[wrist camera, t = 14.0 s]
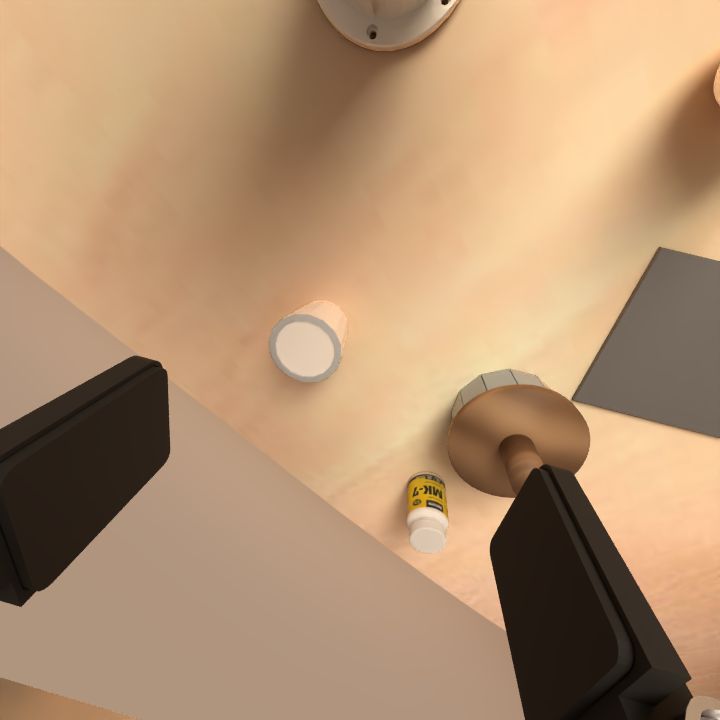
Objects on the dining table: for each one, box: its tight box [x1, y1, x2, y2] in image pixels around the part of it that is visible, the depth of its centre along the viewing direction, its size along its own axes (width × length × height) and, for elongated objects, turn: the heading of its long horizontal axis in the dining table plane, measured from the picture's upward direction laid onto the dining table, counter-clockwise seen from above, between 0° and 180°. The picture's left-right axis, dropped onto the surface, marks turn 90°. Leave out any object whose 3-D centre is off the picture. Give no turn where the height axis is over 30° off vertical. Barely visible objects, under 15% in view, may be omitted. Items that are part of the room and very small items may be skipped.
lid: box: [447, 384, 590, 498], centre depth 32 cm, size 13×13×6 cm
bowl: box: [451, 369, 549, 420], centre depth 37 cm, size 11×11×5 cm
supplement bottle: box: [407, 472, 449, 554], centre depth 41 cm, size 5×5×8 cm
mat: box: [572, 247, 720, 438], centre depth 33 cm, size 16×16×1 cm
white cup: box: [269, 300, 348, 382], centre depth 35 cm, size 7×7×7 cm
